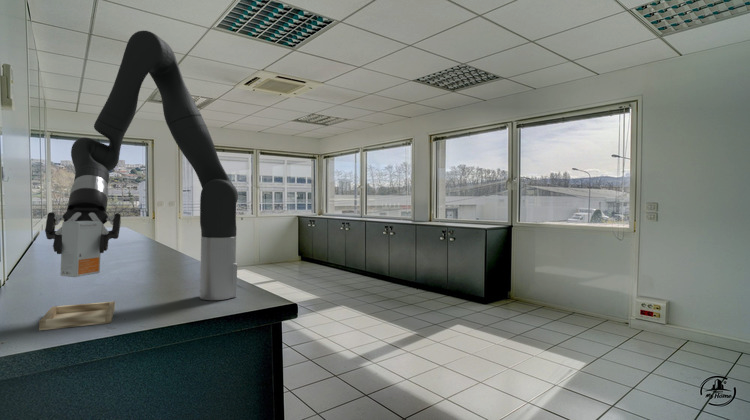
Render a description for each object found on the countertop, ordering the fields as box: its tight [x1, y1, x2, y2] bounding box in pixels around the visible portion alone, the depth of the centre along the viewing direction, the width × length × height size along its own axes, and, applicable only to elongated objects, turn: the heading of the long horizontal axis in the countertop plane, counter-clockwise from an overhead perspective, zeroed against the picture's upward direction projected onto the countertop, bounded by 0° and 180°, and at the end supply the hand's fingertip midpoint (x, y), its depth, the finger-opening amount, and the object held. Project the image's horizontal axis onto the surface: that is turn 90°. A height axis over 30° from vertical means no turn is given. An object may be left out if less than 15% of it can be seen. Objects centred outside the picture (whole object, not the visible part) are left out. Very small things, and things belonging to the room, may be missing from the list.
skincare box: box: [59, 221, 102, 278], centre depth 86 cm, size 6×4×12 cm
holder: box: [38, 300, 116, 331], centre depth 86 cm, size 12×12×2 cm
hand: (80, 251), depth 85 cm, fingers closed on skincare box, 7 cm apart
